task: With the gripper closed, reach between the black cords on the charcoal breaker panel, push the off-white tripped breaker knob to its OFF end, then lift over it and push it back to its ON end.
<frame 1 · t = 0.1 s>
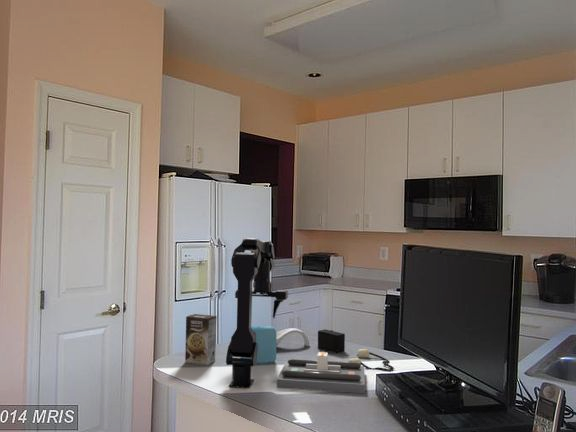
hand: (261, 317, 170), 15 cm above the kitchen counter, fingers open, 9 cm apart
breaker panel: (322, 380, 146), on the kitchen counter
cable: (372, 364, 165), on the kitchen counter
coffee box: (200, 362, 164), on the kitchen counter
spoon rest: (279, 347, 185), on the kitchen counter
digital camera: (332, 350, 182), on the kitchen counter
data package: (258, 362, 165), on the kitchen counter
breaker knob: (322, 362, 146), point 6 cm above the kitchen counter, slide at 0.0 cm
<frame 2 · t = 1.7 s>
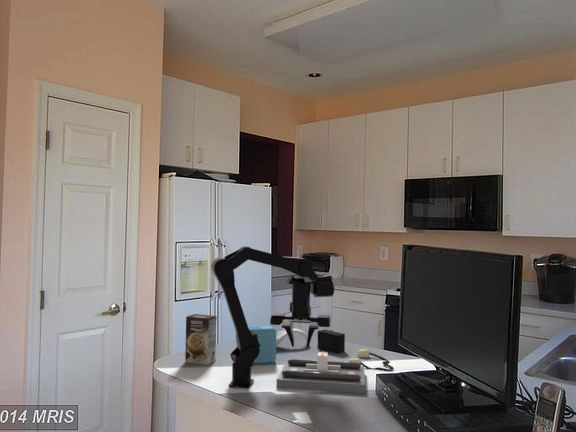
hand: (300, 347, 147), 10 cm above the kitchen counter, fingers open, 4 cm apart
nothing on the kitchen counter moved.
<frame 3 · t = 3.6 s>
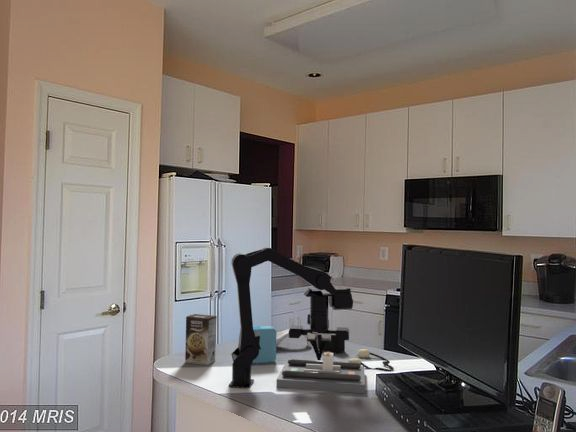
hand: (319, 360, 146), 6 cm above the kitchen counter, fingers closed
breaker knob: (328, 362, 146), point 6 cm above the kitchen counter, slide at -1.7 cm, touching gripper
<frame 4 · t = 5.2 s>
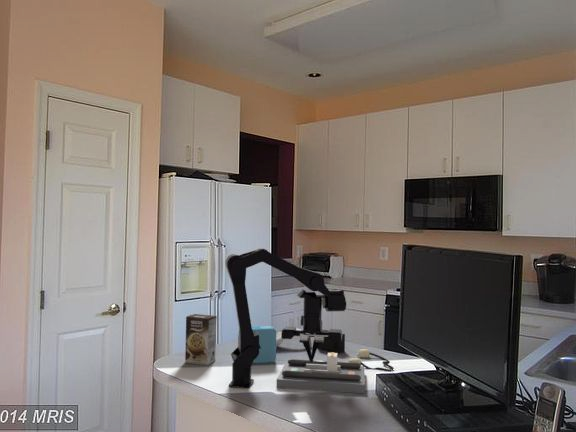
hand: (311, 361, 146), 6 cm above the kitchen counter, fingers closed
breaker knob: (332, 363, 145), point 6 cm above the kitchen counter, slide at -3.1 cm
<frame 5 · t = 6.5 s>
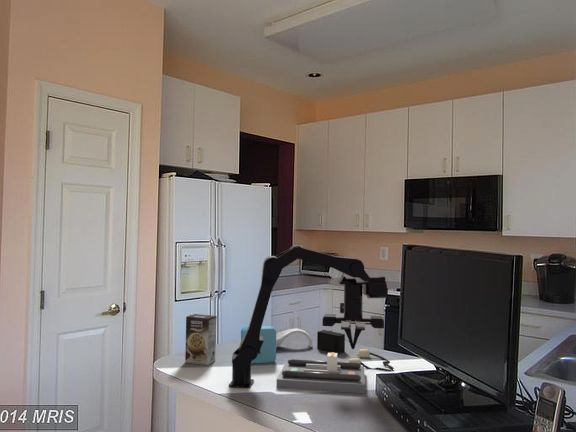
hand: (352, 348, 145), 10 cm above the kitchen counter, fingers closed
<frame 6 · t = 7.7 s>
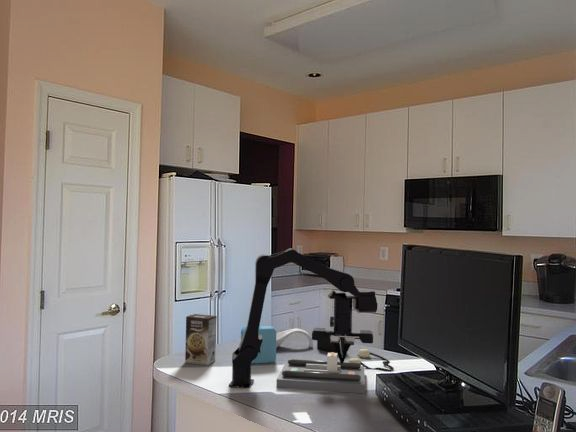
hand: (342, 363, 145), 6 cm above the kitchen counter, fingers closed
breaker knob: (332, 363, 145), point 6 cm above the kitchen counter, slide at -3.0 cm, touching gripper
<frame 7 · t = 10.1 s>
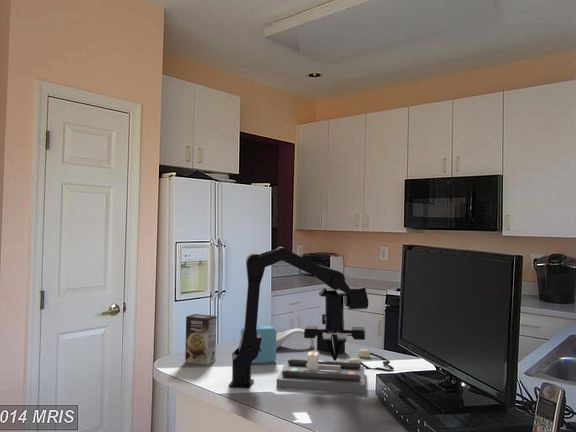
hand: (334, 360, 146), 6 cm above the kitchen counter, fingers closed
breaker knob: (312, 361, 146), point 6 cm above the kitchen counter, slide at 3.1 cm
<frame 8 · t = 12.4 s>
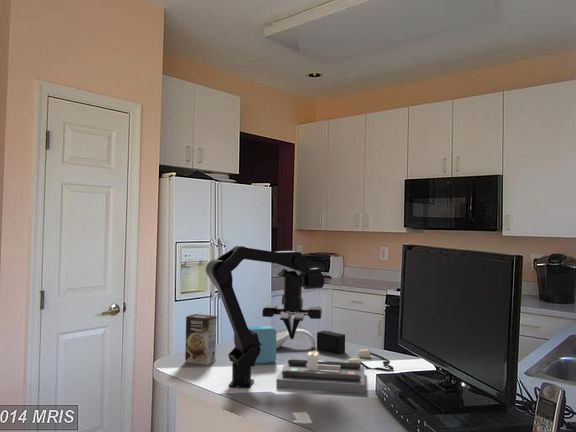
hand: (292, 338, 150), 12 cm above the kitchen counter, fingers closed
at the end: breaker knob slide at 3.1 cm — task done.
